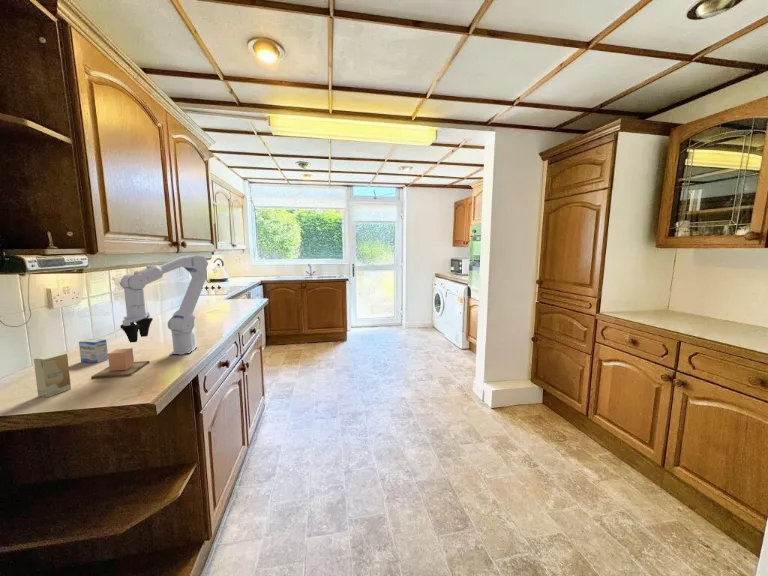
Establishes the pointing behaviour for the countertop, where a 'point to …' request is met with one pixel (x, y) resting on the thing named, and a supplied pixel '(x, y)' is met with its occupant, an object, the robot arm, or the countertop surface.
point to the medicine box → (93, 350)
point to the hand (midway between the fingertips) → (139, 339)
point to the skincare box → (52, 374)
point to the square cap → (121, 359)
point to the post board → (120, 371)
